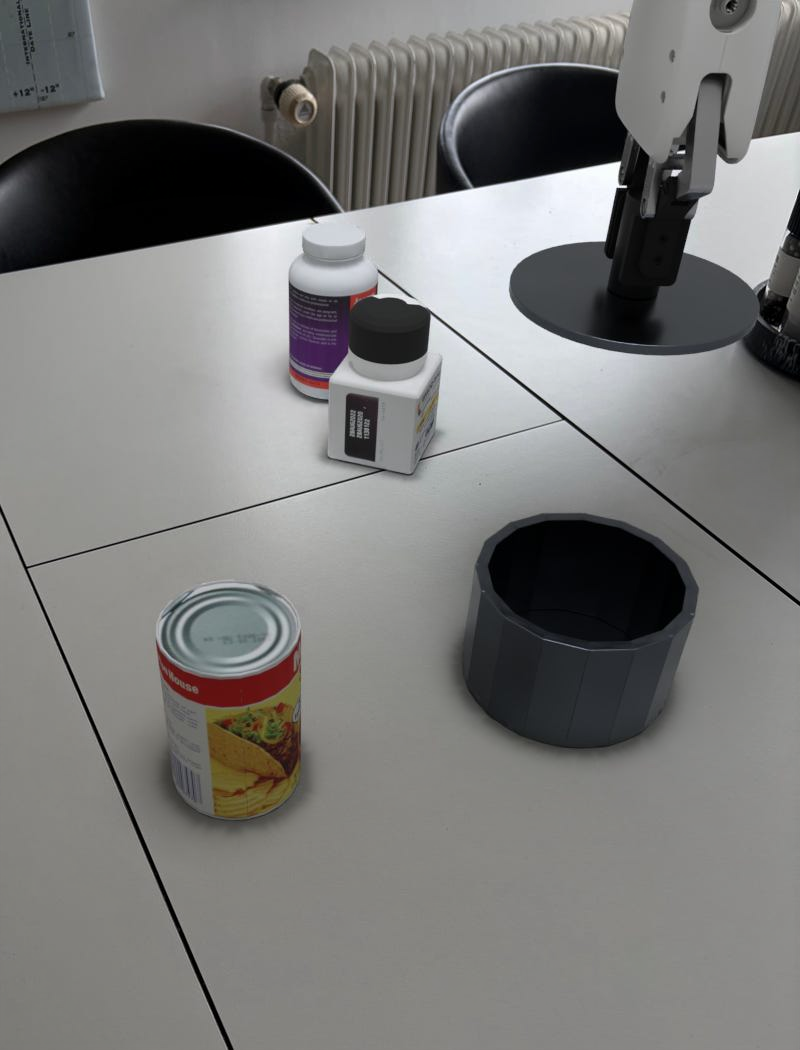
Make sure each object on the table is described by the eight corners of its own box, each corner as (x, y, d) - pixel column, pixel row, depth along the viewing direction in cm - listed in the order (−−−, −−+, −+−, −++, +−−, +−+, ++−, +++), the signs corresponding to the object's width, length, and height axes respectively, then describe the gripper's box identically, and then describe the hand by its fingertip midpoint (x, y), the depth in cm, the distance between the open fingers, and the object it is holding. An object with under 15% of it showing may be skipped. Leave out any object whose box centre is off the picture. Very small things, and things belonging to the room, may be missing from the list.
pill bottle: (358, 411, 96) (365, 257, 86) (277, 396, 98) (274, 244, 88) (383, 371, 102) (391, 223, 92) (305, 358, 103) (305, 211, 94)
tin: (635, 606, 76) (662, 511, 70) (690, 745, 66) (728, 648, 60) (450, 609, 76) (463, 513, 70) (478, 750, 66) (495, 652, 60)
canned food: (327, 770, 64) (331, 625, 56) (231, 843, 60) (221, 698, 52) (241, 704, 68) (234, 560, 60) (146, 769, 64) (124, 624, 56)
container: (411, 476, 88) (424, 333, 79) (326, 458, 90) (328, 316, 81) (436, 431, 94) (450, 293, 85) (354, 415, 95) (360, 278, 87)
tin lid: (711, 259, 69) (740, 152, 64) (790, 366, 58) (832, 246, 53) (491, 258, 68) (504, 150, 64) (529, 365, 57) (549, 245, 53)
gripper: (875, -81, 43) (745, 334, 55) (746, -132, 55) (663, 218, 67) (696, -84, 43) (606, 334, 55) (606, -135, 55) (549, 218, 67)
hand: (638, 267), depth 61 cm, fingers closed on tin lid, 3 cm apart
